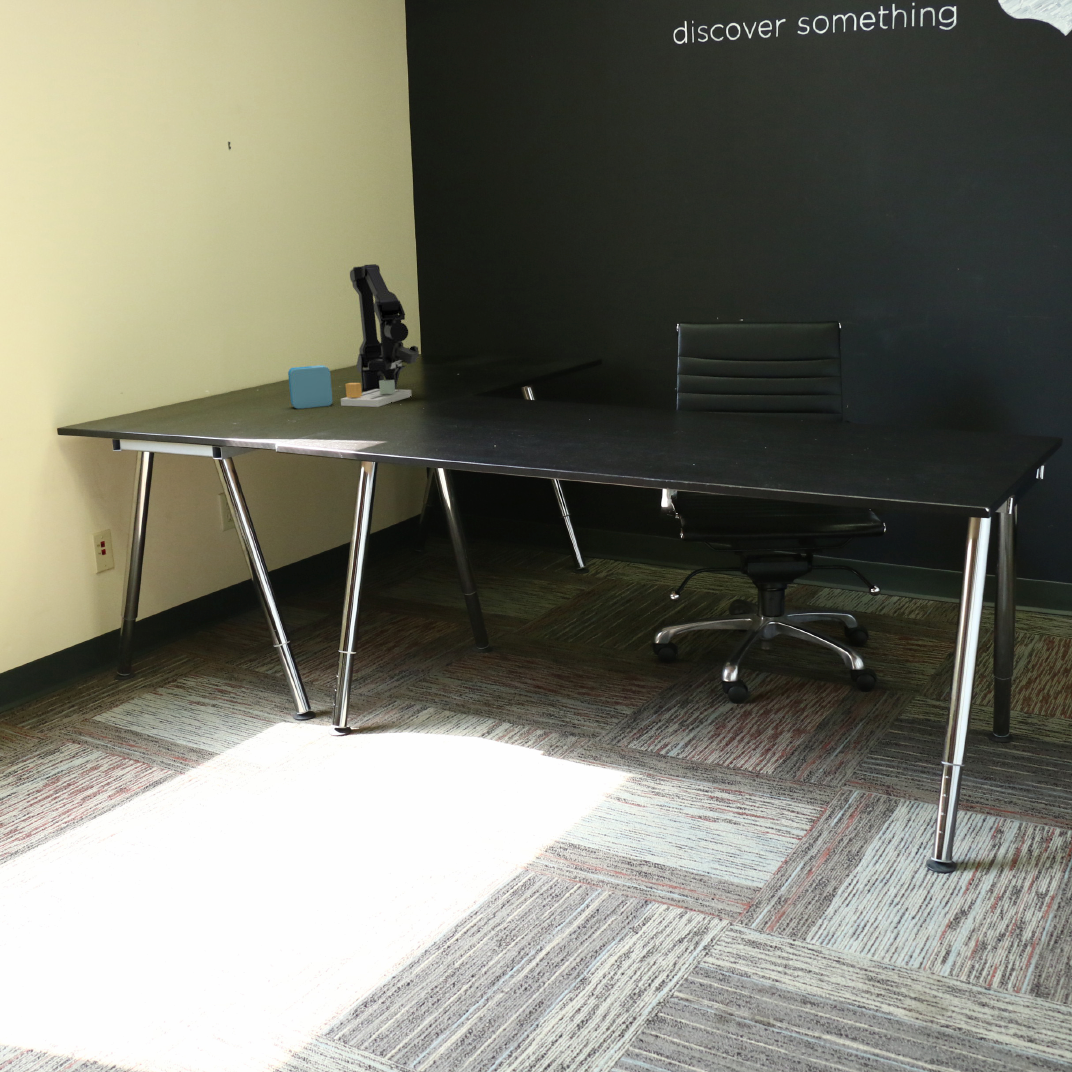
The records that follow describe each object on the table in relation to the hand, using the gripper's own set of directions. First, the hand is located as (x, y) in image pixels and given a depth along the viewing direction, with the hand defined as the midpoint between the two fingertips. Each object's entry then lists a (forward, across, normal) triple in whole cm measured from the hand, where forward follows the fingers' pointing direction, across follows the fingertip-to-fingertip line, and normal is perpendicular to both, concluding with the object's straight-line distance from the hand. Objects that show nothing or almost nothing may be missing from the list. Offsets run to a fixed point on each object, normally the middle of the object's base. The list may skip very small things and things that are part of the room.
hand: (393, 389), depth 364 cm
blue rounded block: (+3, -17, +19) cm, 26 cm away
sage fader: (+1, -3, 0) cm, 4 cm away
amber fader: (+1, -11, +7) cm, 13 cm away
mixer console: (+3, -4, +4) cm, 6 cm away
